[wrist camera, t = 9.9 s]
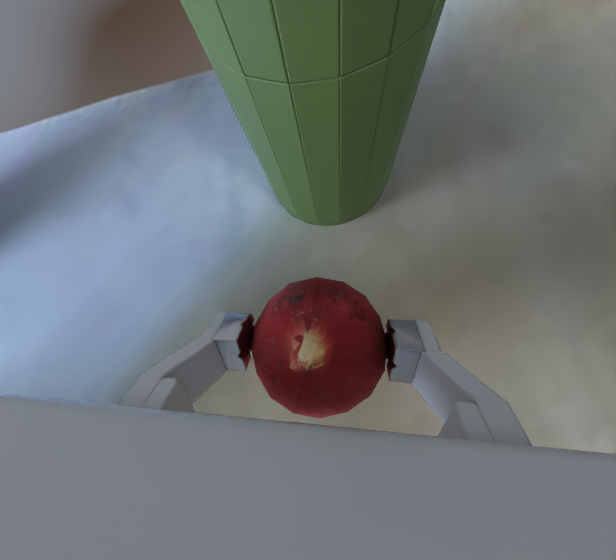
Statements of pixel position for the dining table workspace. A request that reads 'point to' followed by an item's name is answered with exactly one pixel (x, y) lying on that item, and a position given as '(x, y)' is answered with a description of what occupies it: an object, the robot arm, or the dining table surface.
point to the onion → (319, 347)
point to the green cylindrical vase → (320, 90)
